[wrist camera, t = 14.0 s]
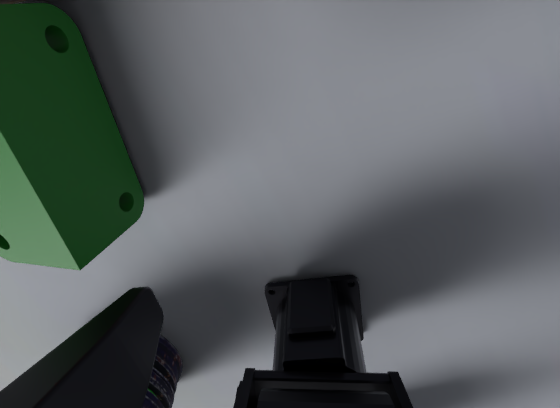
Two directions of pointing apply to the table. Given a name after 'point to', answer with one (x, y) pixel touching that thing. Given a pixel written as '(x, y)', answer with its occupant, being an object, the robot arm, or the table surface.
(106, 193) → the clamp
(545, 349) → the table surface
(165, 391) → the storage jar
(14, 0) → the socket board
